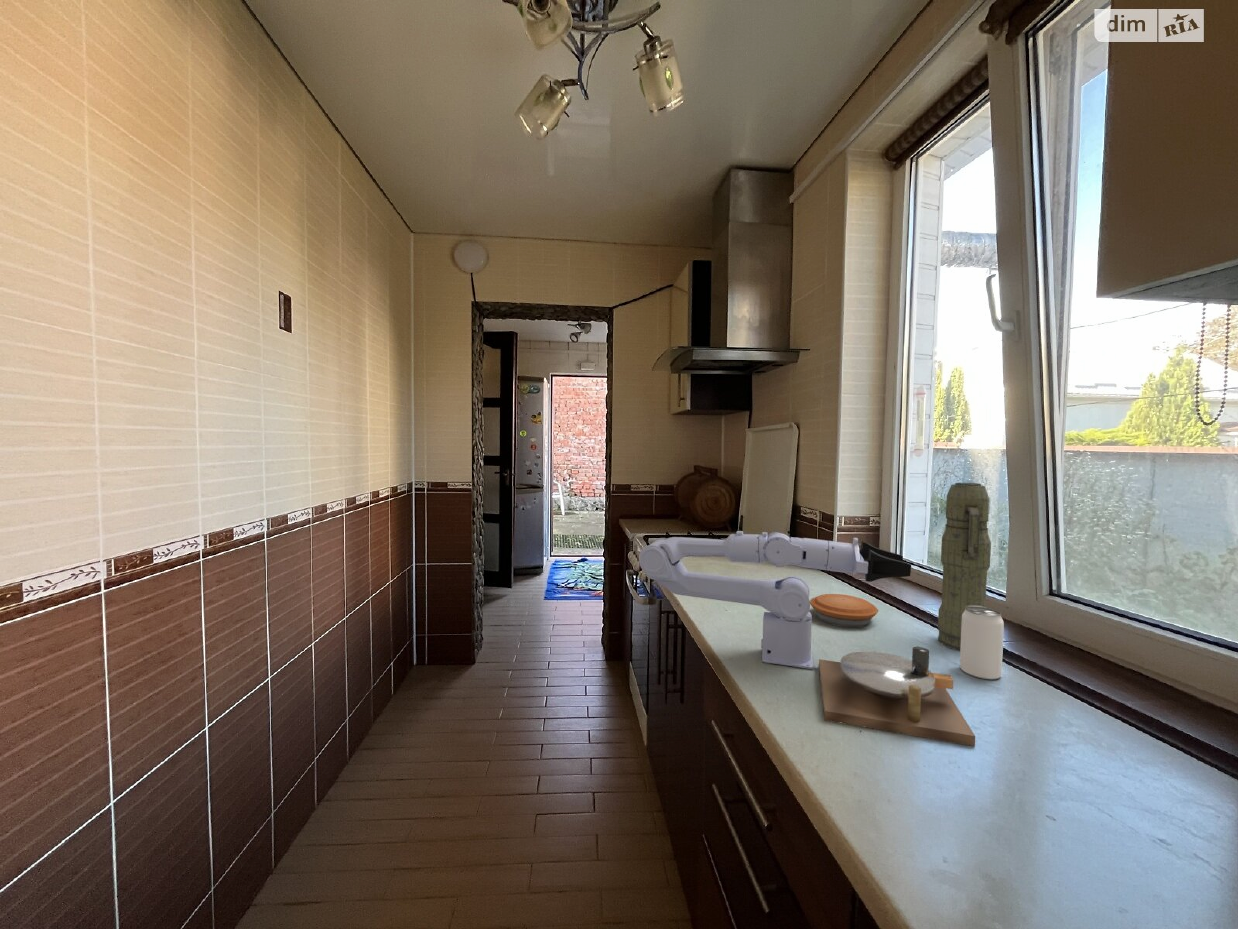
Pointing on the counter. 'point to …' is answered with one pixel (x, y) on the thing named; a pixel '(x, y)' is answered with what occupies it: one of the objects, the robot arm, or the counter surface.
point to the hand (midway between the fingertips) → (906, 565)
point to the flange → (893, 673)
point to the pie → (843, 610)
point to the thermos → (963, 558)
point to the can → (981, 642)
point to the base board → (892, 709)
